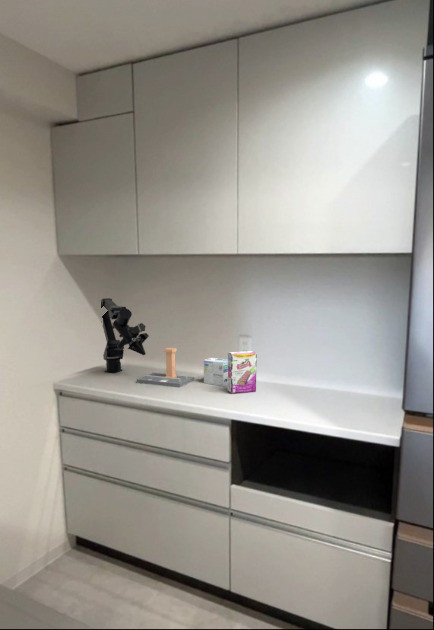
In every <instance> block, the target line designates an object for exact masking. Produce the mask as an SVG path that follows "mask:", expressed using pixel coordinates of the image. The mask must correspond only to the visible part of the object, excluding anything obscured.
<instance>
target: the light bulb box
mask: <svg viewBox="0 0 434 630" xmlns="http://www.w3.org/2000/svg"><path fill="white" fill-rule="evenodd" d="M203 383H204V384H209V385H215V386H221V387H225V386H228V358H225V359H224V358H216V357H209V358H206V359H203Z"/></svg>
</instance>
